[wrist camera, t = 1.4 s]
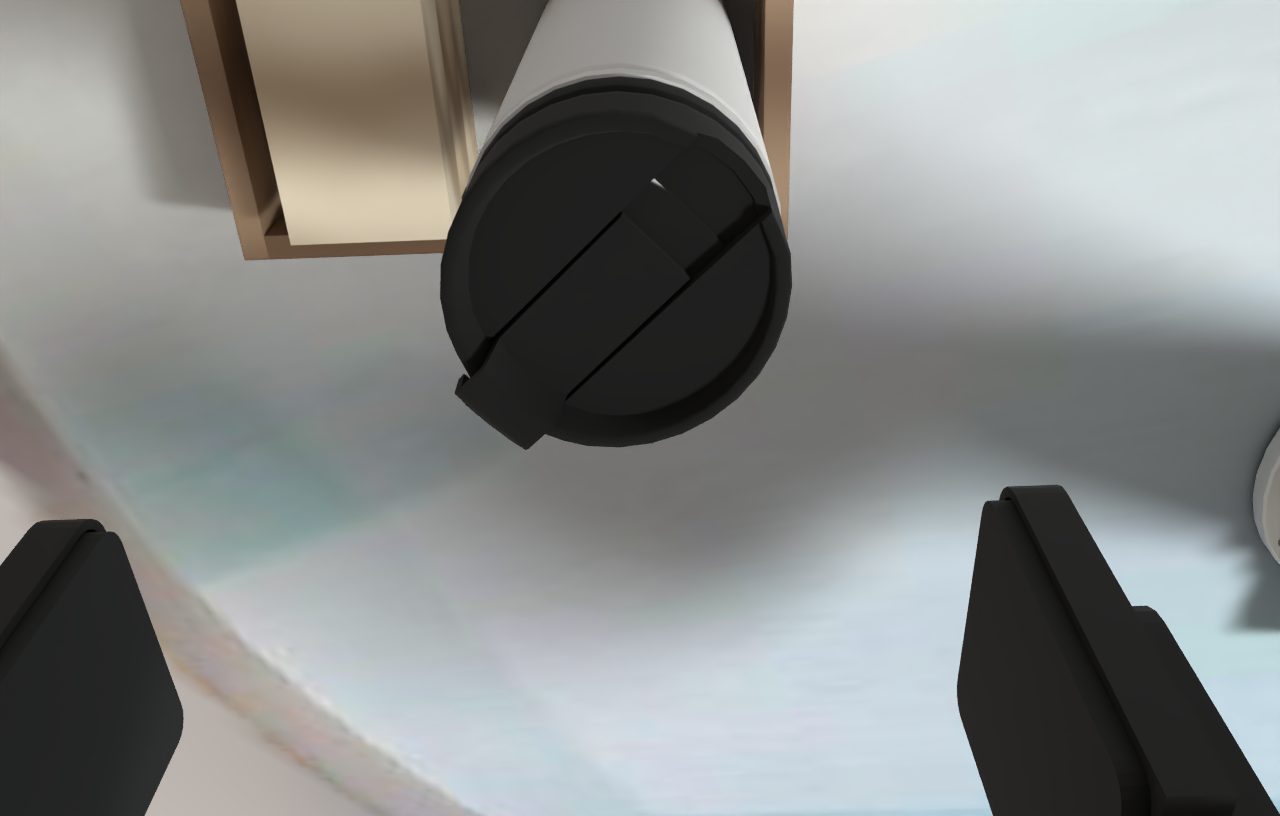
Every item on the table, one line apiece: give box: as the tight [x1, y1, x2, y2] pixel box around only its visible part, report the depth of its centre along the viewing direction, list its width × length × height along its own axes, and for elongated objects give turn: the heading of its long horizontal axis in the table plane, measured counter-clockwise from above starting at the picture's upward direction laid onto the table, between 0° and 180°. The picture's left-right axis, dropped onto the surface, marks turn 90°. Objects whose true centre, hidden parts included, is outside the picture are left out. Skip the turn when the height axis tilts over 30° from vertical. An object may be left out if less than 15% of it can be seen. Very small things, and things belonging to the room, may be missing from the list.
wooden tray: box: [180, 0, 794, 260], centre depth 34 cm, size 11×18×4 cm, turn 93°
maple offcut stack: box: [236, 0, 478, 245], centre depth 34 cm, size 8×5×6 cm, turn 3°
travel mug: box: [440, 0, 792, 450], centre depth 27 cm, size 6×7×20 cm
